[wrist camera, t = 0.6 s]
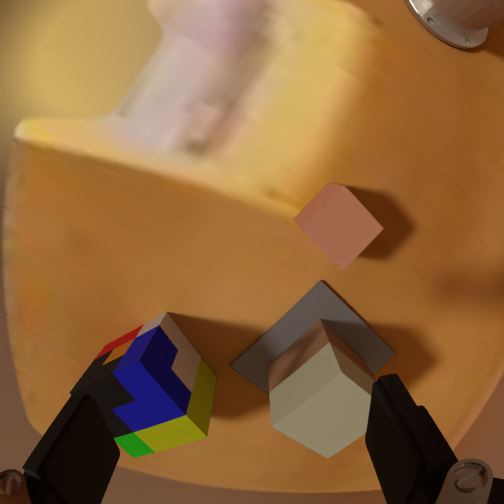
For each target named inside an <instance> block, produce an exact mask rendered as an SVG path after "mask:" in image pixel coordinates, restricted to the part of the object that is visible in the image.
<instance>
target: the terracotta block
mask: <svg viewBox="0 0 504 504" xmlns="http://www.w3.org/2000/svg"><path fill="white" fill-rule="evenodd" d="M293 220H294V221H295V222H296V224H297V225H298V226H299V228H300V229H301V230H302V231H303V232H304V233H305V234H306V235H307V236H308V237H309V238H310V239H311V240H312V241H313V242H314V243H315V244H316V245H317V246H318V247H319V248H320V249H321V250H322V251H323V252H324V253H325V254H326V255H327V256H328V257H329V258H331V259H332V260H333V261H334V262H335V263H336V264H337V265H338V266H339V267H340V268H341V269H342V270H344V269H345V268H346V267H347V266H348V265H349V264H350V263H351V262H352V261H353V260H354V259H355V258H356V257H357V256H358V255H359V254H360V253H361V252H362V251H363V250H364V249H365V248H366V247H367V246H368V245H369V244H370V243H371V242H372V240H373V239H374V238H375V237H376V236H377V235H378V234H379V233H380V232H381V231H382V230H383V229H384V228H383V227H382V226H381V225H380V224H379V223H378V222H377V220H376V219H375V218H374V217H373V216H372V215H371V214H370V213H369V211H368V210H367V209H366V208H365V207H364V206H363V205H362V204H361V203H360V202H359V201H358V199H357V198H356V197H355V196H354V195H353V194H352V193H351V192H350V191H349V190H348V189H347V188H346V187H345V186H343V185H338V184H333V183H327V184H326V185H325V186H324V187H323V189H322V190H321V191H320V192H319V193H318V194H317V195H316V196H315V197H314V198H313V199H312V200H311V201H310V202H309V203H308V204H307V205H306V206H305V207H304V208H303V209H302V210H301V211H300V212H299V214H298V215H297V216H296V217H295V218H294V219H293Z"/></svg>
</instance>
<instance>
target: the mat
mask: <svg viewBox="0 0 504 504" xmlns="http://www.w3.org/2000/svg"><path fill="white" fill-rule="evenodd" d="M319 319H321V320H322V321H323V322H324V323H325V324H326V325H327V326H328V327H330V328H331V329H332V330H333V331H334V332H335V333H336V334H337V335H339V336H340V337H341V338H342V339H343V340H344V341H345V342H346V343H347V344H349V345H350V346H351V347H352V348H353V349H354V350H355V351H356V352H358V353H359V354H360V355H361V356H362V357H363V358H364V359H365V361H366V363H367V365H368V367H369V369H370V370H371V372H372V374H374V373H375V372H377V371H378V370H379V369H380V368H381V367H382V366H383V365H384V364H386V363H387V362H388V361H389V360H390V359H391V358H392V357H393V356H394V355H395V354H396V353H395V352H394V351H393V350H392V349H391V348H390V347H389V346H388V345H387V344H386V343H385V342H384V341H383V340H382V339H381V338H380V337H379V336H378V335H377V334H376V333H375V332H374V331H373V330H372V329H371V328H370V327H369V326H368V325H367V324H366V323H365V322H364V321H363V320H362V319H361V318H359V317H358V316H357V315H356V314H355V313H354V312H353V311H352V310H351V309H350V308H349V307H348V306H347V305H346V304H345V303H344V302H343V301H342V300H341V299H340V298H339V297H338V296H337V295H336V294H335V293H334V292H333V291H331V290H330V289H329V288H328V287H327V286H326V285H325V284H324V283H323V282H322V281H321V280H320V281H319V282H318V283H317V284H316V285H315V286H314V287H313V288H312V289H311V290H310V291H309V292H308V293H307V294H306V295H305V296H304V297H303V298H302V299H301V300H300V301H299V302H298V303H297V304H296V305H294V306H293V307H292V308H291V309H290V310H289V311H288V312H287V313H286V314H285V315H284V316H283V317H282V318H281V319H280V320H279V321H278V322H276V323H275V324H274V325H273V326H272V327H271V328H270V329H269V330H268V331H267V332H266V333H265V334H264V335H262V336H261V337H260V338H259V339H258V340H257V341H256V342H255V343H254V344H253V345H251V346H250V347H249V348H248V349H247V350H246V351H245V352H244V353H243V354H241V355H240V356H239V357H238V358H237V359H236V360H235V361H233V362H232V363H231V364H230V367H232V368H233V369H234V370H236V371H237V372H238V373H240V374H241V375H243V376H244V377H245V378H247V379H248V380H250V381H251V382H252V383H254V384H255V385H257V386H258V387H259V388H261V389H262V390H264V391H265V392H266V393H268V394H269V380H268V365H269V364H270V363H271V362H272V361H273V360H275V359H276V358H277V357H278V356H279V355H280V354H281V353H283V352H284V351H285V350H286V349H287V348H288V347H289V346H291V345H292V344H293V343H294V342H295V341H296V340H297V339H298V338H299V337H301V336H302V335H303V334H304V333H305V332H306V331H307V330H308V329H309V328H310V327H312V326H313V325H314V324H315V323H316V322H317V321H318V320H319Z"/></svg>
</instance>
